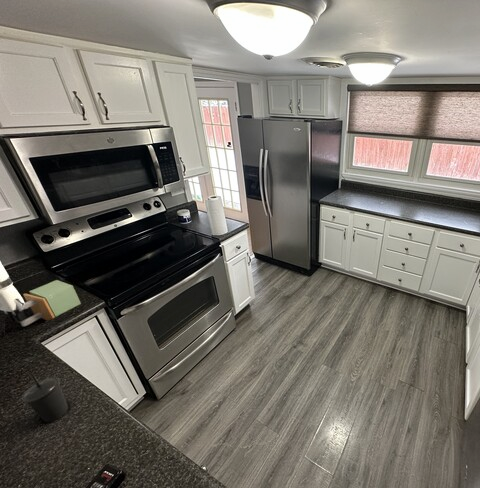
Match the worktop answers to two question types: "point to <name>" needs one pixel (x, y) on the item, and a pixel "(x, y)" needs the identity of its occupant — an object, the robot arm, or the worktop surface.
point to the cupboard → (58, 296)
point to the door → (37, 309)
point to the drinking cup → (46, 398)
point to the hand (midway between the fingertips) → (19, 319)
